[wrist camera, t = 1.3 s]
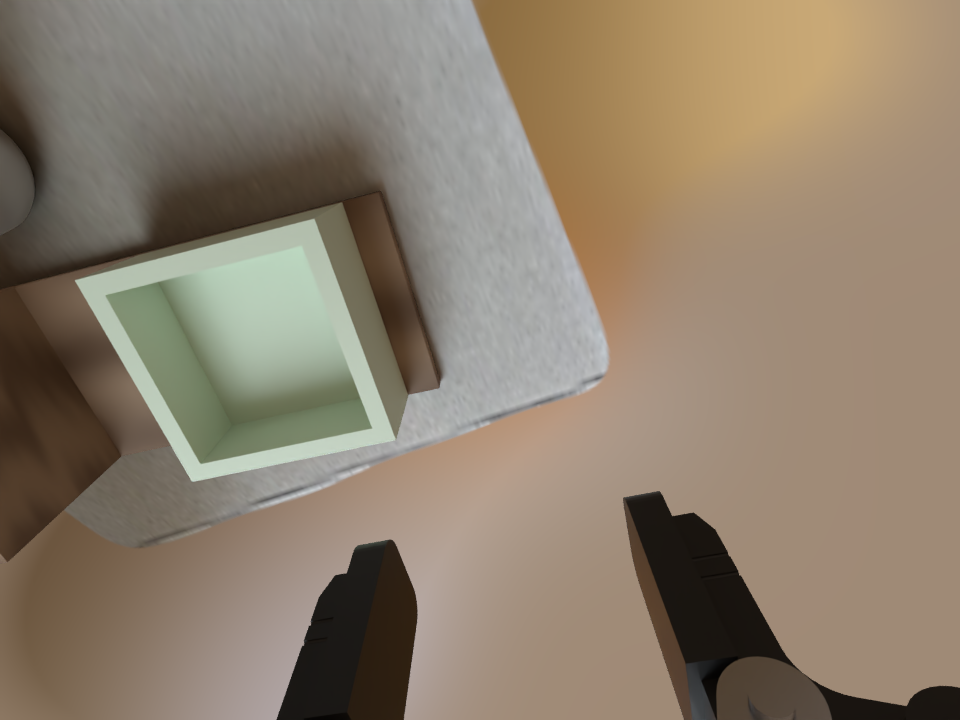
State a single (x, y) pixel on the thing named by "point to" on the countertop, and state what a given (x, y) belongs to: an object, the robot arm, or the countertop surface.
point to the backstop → (130, 379)
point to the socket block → (255, 343)
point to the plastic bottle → (14, 185)
